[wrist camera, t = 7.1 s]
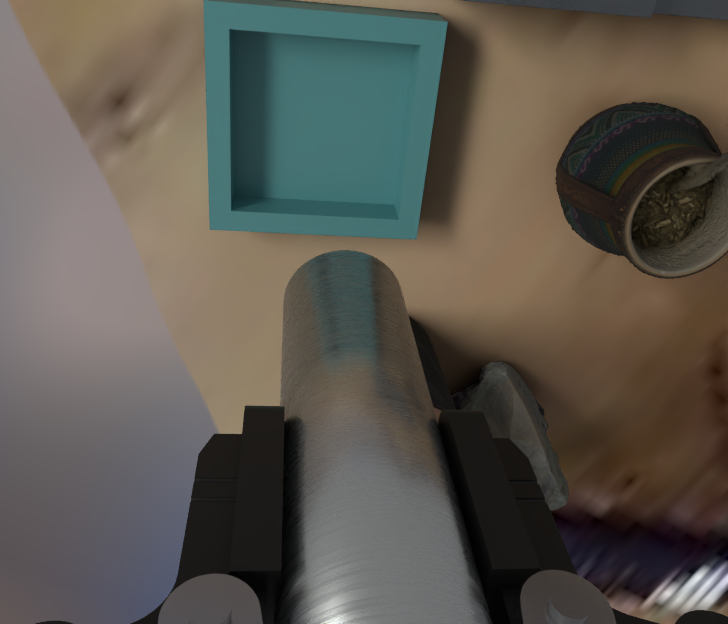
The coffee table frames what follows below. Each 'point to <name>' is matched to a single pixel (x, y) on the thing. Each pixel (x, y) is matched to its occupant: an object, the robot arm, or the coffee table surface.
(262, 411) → the robot arm
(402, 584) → the lock pin
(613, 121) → the mate gourd
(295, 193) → the tray
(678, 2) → the block
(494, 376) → the mineral rock
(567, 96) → the coffee table surface
